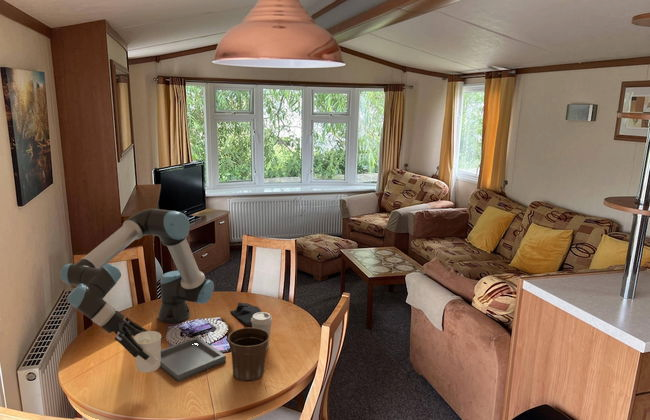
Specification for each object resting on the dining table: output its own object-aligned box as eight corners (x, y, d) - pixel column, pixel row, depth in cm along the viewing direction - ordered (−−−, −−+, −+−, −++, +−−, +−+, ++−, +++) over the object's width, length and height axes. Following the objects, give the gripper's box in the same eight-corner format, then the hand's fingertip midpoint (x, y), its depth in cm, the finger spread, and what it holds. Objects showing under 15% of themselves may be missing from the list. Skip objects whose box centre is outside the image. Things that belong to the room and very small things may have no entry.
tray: (150, 360, 200) (150, 353, 200) (197, 342, 216) (197, 336, 215) (178, 382, 186) (177, 375, 185) (225, 361, 201) (225, 355, 200)
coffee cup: (268, 353, 209) (268, 321, 206) (247, 350, 211) (247, 319, 208) (274, 343, 218) (275, 312, 215) (254, 340, 220) (255, 310, 217)
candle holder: (138, 359, 183) (137, 330, 180) (165, 359, 184) (164, 330, 181) (130, 374, 173) (129, 344, 170) (158, 373, 174) (157, 343, 171)
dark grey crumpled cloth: (242, 329, 231) (242, 320, 230) (229, 311, 250) (229, 303, 249) (272, 324, 238) (272, 315, 237) (257, 307, 257) (257, 298, 256)
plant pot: (244, 358, 204) (244, 323, 201) (276, 368, 198) (277, 332, 194) (219, 377, 190) (219, 339, 187) (253, 388, 183) (254, 350, 180)
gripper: (108, 312, 182) (154, 347, 189) (92, 340, 161) (145, 379, 168) (122, 298, 182) (167, 334, 188) (108, 325, 161) (160, 364, 167)
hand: (157, 355), depth 178 cm, fingers closed on candle holder, 9 cm apart
